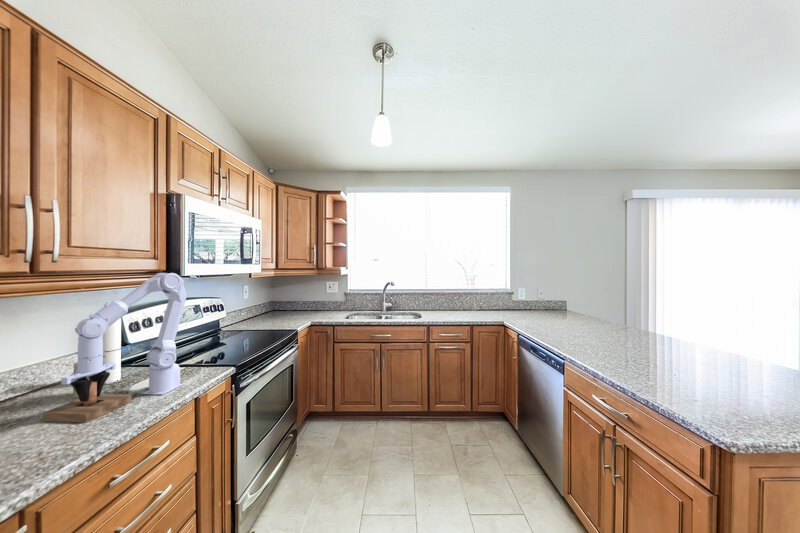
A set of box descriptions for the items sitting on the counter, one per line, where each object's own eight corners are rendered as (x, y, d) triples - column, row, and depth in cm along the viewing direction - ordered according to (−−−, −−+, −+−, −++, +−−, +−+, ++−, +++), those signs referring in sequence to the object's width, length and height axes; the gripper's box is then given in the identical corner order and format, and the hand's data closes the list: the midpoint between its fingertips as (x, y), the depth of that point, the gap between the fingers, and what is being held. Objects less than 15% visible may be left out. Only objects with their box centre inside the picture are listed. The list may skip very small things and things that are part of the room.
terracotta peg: (90, 405, 100) (91, 381, 100) (99, 405, 100) (99, 381, 100) (80, 409, 97) (80, 384, 97) (89, 410, 97) (89, 384, 97)
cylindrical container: (118, 381, 124) (119, 319, 124) (94, 385, 120) (95, 321, 120) (122, 376, 130) (122, 317, 130) (98, 379, 126) (99, 318, 126)
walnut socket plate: (93, 400, 106) (93, 393, 106) (131, 402, 105) (131, 394, 105) (43, 420, 92) (43, 412, 92) (86, 422, 91) (86, 414, 91)
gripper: (102, 350, 106) (102, 389, 106) (52, 362, 91) (51, 408, 91) (121, 350, 105) (121, 389, 105) (73, 363, 91) (73, 409, 91)
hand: (90, 398), depth 98 cm, fingers closed on terracotta peg, 3 cm apart
